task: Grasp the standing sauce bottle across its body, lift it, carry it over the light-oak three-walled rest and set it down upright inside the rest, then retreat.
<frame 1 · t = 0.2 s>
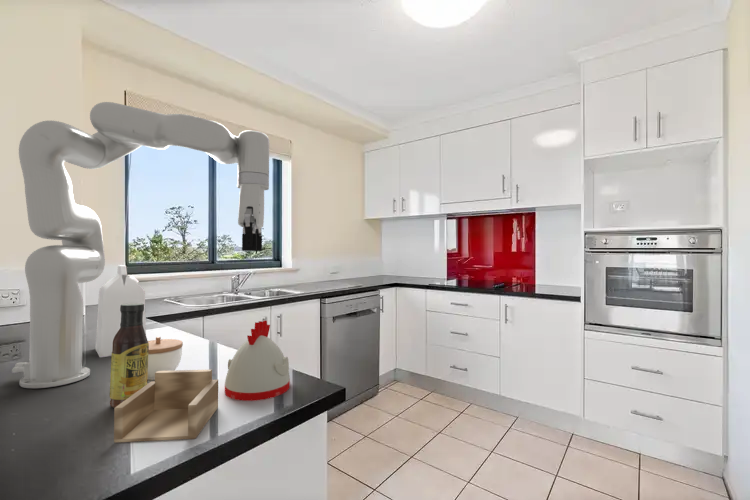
hand: (252, 250, 92), 31 cm above the counter, tool pointing down, fingers open, 9 cm apart
kitchen timer: (258, 389, 83), on the counter
milk: (120, 350, 114), on the counter
sauce bottle: (129, 404, 74), on the counter
lidded jar: (157, 376, 91), on the counter
oak rest: (171, 423, 66), on the counter
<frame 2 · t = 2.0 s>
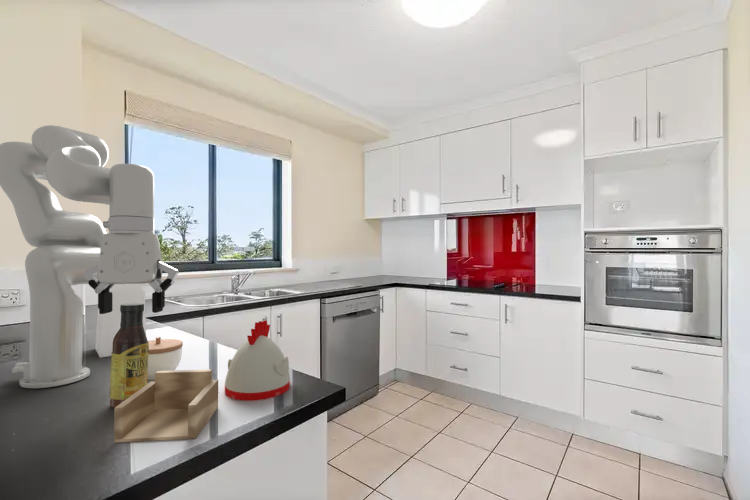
hand: (132, 312, 74), 18 cm above the counter, tool pointing down, fingers open, 9 cm apart
nothing on the counter moved.
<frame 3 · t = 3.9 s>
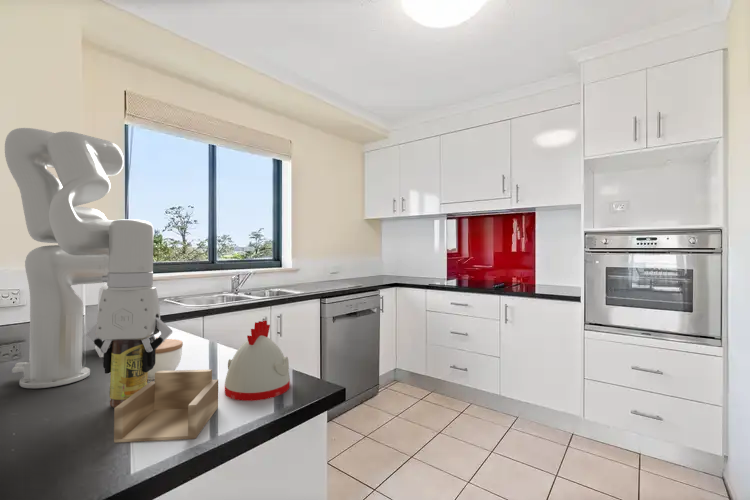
hand: (129, 370, 74), 7 cm above the counter, tool pointing down, fingers closed on sauce bottle, 6 cm apart
sauce bottle: (129, 404, 74), on the counter, touching gripper
everything else where it was.
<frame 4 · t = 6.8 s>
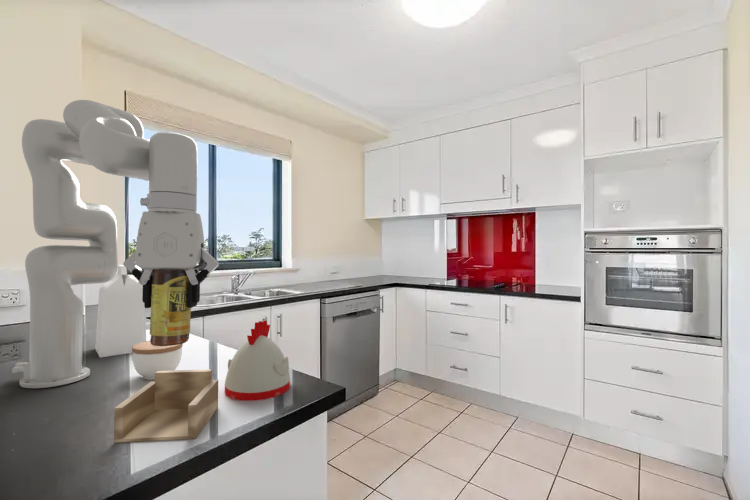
hand: (171, 305, 66), 21 cm above the counter, tool pointing down, fingers closed on sauce bottle, 6 cm apart
sauce bottle: (170, 344, 65), point 14 cm above the counter, touching gripper
everything else where it was.
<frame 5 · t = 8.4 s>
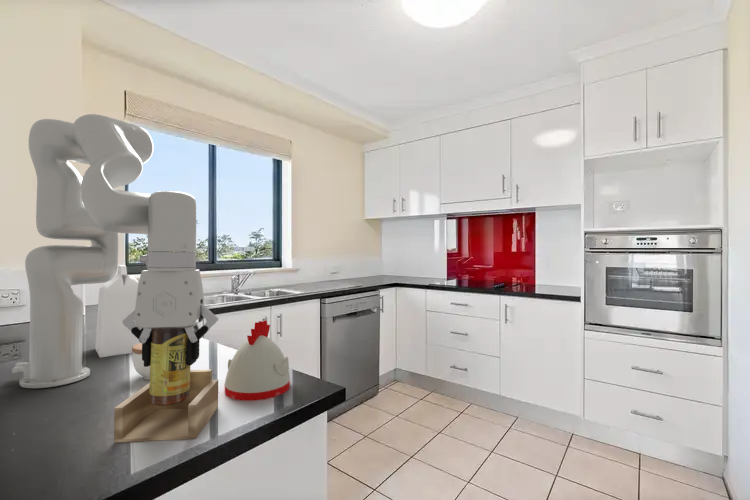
hand: (171, 362, 65), 11 cm above the counter, tool pointing down, fingers closed on sauce bottle, 6 cm apart
sauce bottle: (170, 401, 65), point 4 cm above the counter, touching gripper
everything else where it was.
when the fingers open (8 cm above the counter, at t = 9.8 s): sauce bottle drops 1 cm, resting on oak rest.
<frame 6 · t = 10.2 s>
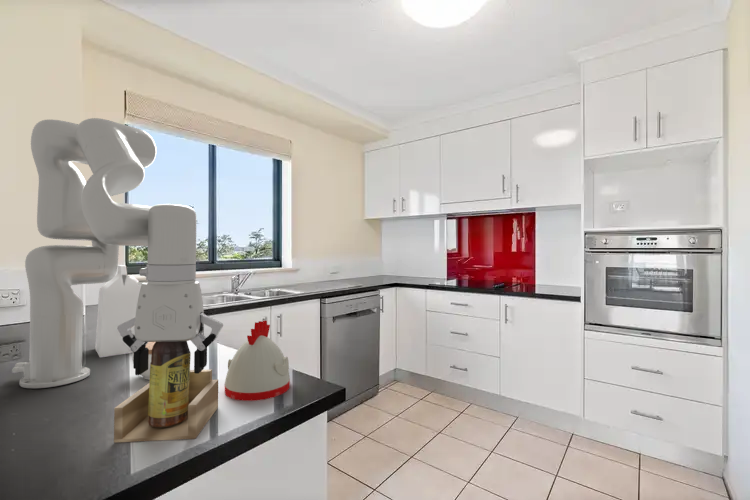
hand: (170, 371, 65), 9 cm above the counter, tool pointing down, fingers open, 9 cm apart
sauce bottle: (168, 422, 65), resting on oak rest
everything else where it was.
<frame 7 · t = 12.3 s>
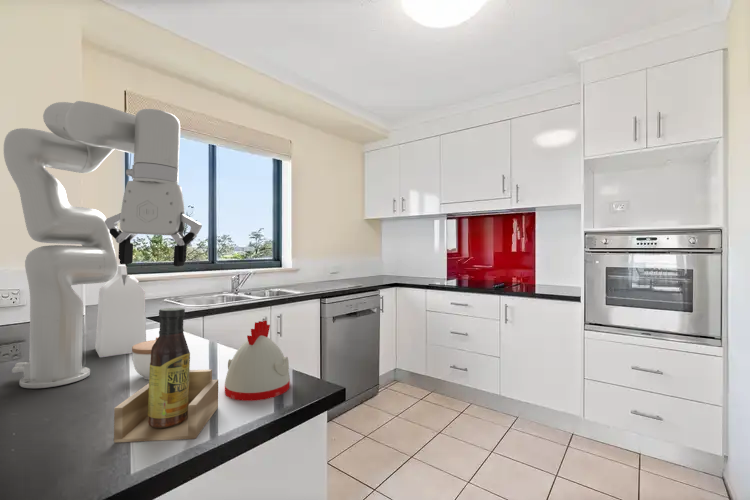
hand: (152, 264, 72), 28 cm above the counter, tool pointing down, fingers open, 9 cm apart
nothing on the counter moved.
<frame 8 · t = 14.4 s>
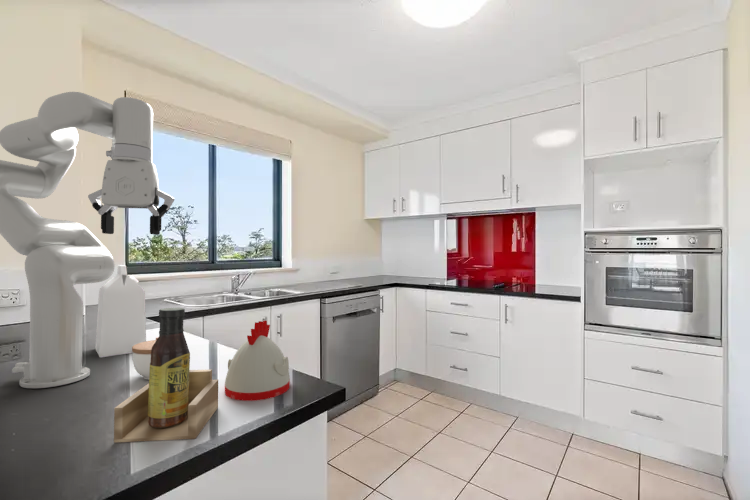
hand: (131, 234, 82), 34 cm above the counter, tool pointing down, fingers open, 9 cm apart
nothing on the counter moved.
at the end: sauce bottle inside the target area on the oak rest (0.5 cm from its centre), point 0.3 cm above the oak rest's base; sauce bottle tilted 0°; the gripper is holding nothing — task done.
